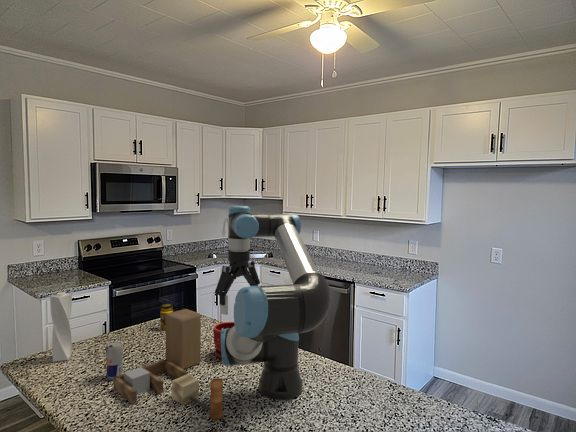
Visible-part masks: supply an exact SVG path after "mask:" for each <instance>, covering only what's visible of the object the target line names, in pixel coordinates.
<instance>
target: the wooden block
mask: <svg viewBox="0 0 576 432" xmlns="http://www.w3.org/2000/svg"><path fill="white" fill-rule="evenodd" d="M201 318H202V315H201V313H199V312H196V311H194V310H190V309H188V308H183V309H180V310H175V311H173V312H172V313H168V314H166V316H165V321H166V332H165V360H166V359H167V360H168V361H170V362H172V363H173V364H175V365H177V366H178V367H180V368H182V369H184V370H186V369H187V368H188V369H189V368H191V367H193V366H196V365H198V364H200V363H201V361H202V360H201V358H202V357H201V350H202V349H201V348H202V347H201V340H202V339H201V337H202V335H201V334H202V333H201V332H202V327H201V326H202V325H201V323H202V322H201V321H202V319H201Z"/></svg>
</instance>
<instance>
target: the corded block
mask: <svg viewBox="0 0 576 432" xmlns="http://www.w3.org/2000/svg"><path fill="white" fill-rule="evenodd" d="M199 382H200V380H199V379H197V378H196V377H194V376H192V375H190V374H188V373H187V375H184V376H182V377H180V378H177V379H176V378H174V379H173V380H172V381H171V399H172V400H173V401H175V402H176V403H179V404H180V405H182V406H185V405H187V404H189V403H191V402H194V403H196V404H197V405H199V406H201V407H202V408H203V409H206V410H207V411H209V412H210V413H209V414H210V419H211V420H213V421H220V420H221V419H223V417H224V416H223V413H224V409H223V408H224V405H223V404H224V403H223V401H224V398H223V397H224V396H223V395H224V380H223V379H222V378H217V377H216V378H215V377H214V378H212V379H211V380H210V406H209V405H207V403H205V402H203V401H201V400H200V399H199V394H200V391H199V390H200V389H199V387H200V384H199Z"/></svg>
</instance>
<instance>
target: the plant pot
mask: <svg viewBox="0 0 576 432" xmlns="http://www.w3.org/2000/svg"><path fill="white" fill-rule="evenodd" d="M234 326H235V324H234V321H226V322H220V323H218V324H215V325H213V329H212V330H213V331H212V332H213V344H214V346H215V348H216V349H215V351H214V353H215V355H216V356H217V357H218V358H220V359H222V353H221V330H223V329H226V328H232V327H234Z"/></svg>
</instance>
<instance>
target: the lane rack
mask: <svg viewBox="0 0 576 432" xmlns="http://www.w3.org/2000/svg"><path fill="white" fill-rule="evenodd" d="M141 367H142V366H141ZM142 368H143V369H145V370H146V371H148V372H149V373H150V389H153V390H154V391H155V392H156V393H158V394H160V395H161V394H164V380H163V379H162V378H160V377H158V376H157V374H158V375H161V374H162V373H166V372H167V373H166V374H168V375H169V374H170V375H169V376H171V375H172V376H171V377H173V378H174V379H177V378H180V377H182V376H184V375H187V374H188V371H186V369H182V368H180V367H178V366H177V365H175V364H173V363H172V362H170V361H168V360H167V359H166V358H165V359H163V360H161V361H158V362H154V363H152V364H151V363H150V364H148V365H146V366H143V367H142ZM113 390H114V391H116V392H117V393H118V394H119V395H121V397H123V398H124V399H125V400H127V401H128V403H130V404H131V405H132V406H133V405H137V403H138V399H137V398H138V397H137V396H138V394H137V391H136V390H134V389H133V388H132V387H131V386H129V385H128V384H127V383H125V382H124V373H123V374H122V375H119V376H116V377H114V380H113Z"/></svg>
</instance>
